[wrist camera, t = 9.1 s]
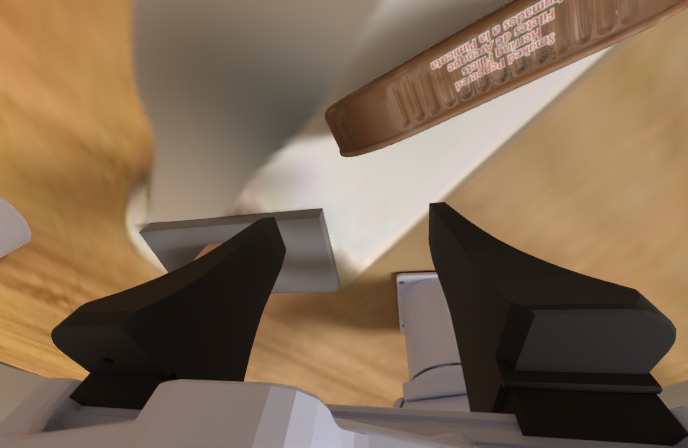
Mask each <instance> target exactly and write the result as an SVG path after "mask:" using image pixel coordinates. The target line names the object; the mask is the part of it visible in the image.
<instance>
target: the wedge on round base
mask: <svg viewBox="0 0 688 448" xmlns="http://www.w3.org/2000/svg"><path fill="white" fill-rule="evenodd" d="M30 240H31V230H30V228H29V226H28V224H27V222H26V221H25V219H24V218H23V217H22V215H21V214H20V213H19V212H18V211H17V210H16V209H15V208H14V207H13V206H12V205H11V204H10V203H9V202H7V201H6V200H5V199H4V198H2V197H1V196H0V258H1V257H3V256H5V255H7V254H9V253H11V252H12V251H14V250H16V249H18V248H20V247H22V246H24V245H25V244H27V243H29V241H30Z"/></svg>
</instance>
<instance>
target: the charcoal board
mask: <svg viewBox="0 0 688 448" xmlns="http://www.w3.org/2000/svg"><path fill="white" fill-rule="evenodd" d="M265 217H275V220H276V222H277V225H278V228H279V231H280V233H281V236H282V239H283V242H284V245H285V247H286V253H285V258H284V261H283V265H282V268H281V270H280V273H279V275H278V278H277V280H276V282H275V285H274V287H273V289H272V291H271V293H304V292H338V287H339V276H338V272H337V268H336V264H335V260H334V255H333V251H332V247H331V243H330V239H329V234H328V230H327V226H326V222H325V217H324V213H323V209H311V210H300V211H288V212H277V213H265V214H254V215H243V216H231V217H220V218H208V219H197V220H186V221H174V222H162V223H151V224H149V225H148V226H147V227H145V228H144V229H143V230H141V231H140V232H139V233H140V234H141V235H142V237H143V238H144V240H145V241H146V242H147V244H148V245H149V247H150V248H151V249H152V251H153V252H154V253H155V255H156V256H157V258H158V259H159V260H160V262H161V263H162V264H163V266H164V267H165V269H166V270H167V271H168V273H170V272H172V271H174V270H176V269H178V268H180V267H183V266H185V265H186V264H188V263H190V262H192V261H193V260H194V259H195V258H196V257H197V256H198V255H199V254H200V252H201V251H202V250H203V249H204V248H205V247H206V246H207V245H208V244H217V243H224V242H226V241H227V240H229V239H230V238H232V237H233V236H235V235H236V234H238V233H239V232H241V231H242V230H244V229H245V228H246V227H248V226H250V225H251V224H253V223H254V222H256V221H257V220H259V219H261V218H265Z"/></svg>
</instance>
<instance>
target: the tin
mask: <svg viewBox="0 0 688 448" xmlns="http://www.w3.org/2000/svg"><path fill="white" fill-rule="evenodd" d="M687 8H688V0H514V1H512V2H510V3H508V4H507V5H505V6H503V7H501V8H499V9H498V10H496V11H494V12H492V13H490V14H489V15H487V16H485V17H483V18H482V19H480V20H478V21H476V22H474V23H473V24H471V25H469V26H467V27H466V28H464V29H462V30H460V31H459V32H457V33H455V34H454V35H452V36H450V37H448V38H447V39H445V40H443V41H441V42H440V43H438V44H436V45H434V46H433V47H431V48H429V49H428V50H426V51H424V52H422V53H421V54H419V55H417V56H416V57H414V58H412V59H410V60H409V61H407V62H405V63H404V64H402V65H400V66H398V67H397V68H395V69H393V70H391V71H390V72H388V73H386V74H384V75H383V76H381V77H379V78H377V79H376V80H374V81H372V82H370V83H369V84H367V85H365V86H364V87H362V88H360V89H359V90H357V91H355V92H353V93H352V94H350V95H348V96H346V97H345V98H343V99H341V100H340V101H338V102H337V103H335V104H333V105H332V106H331V107H329V108H328V109H327V111H326V112H325V119H326V121H327V124H328V126H329V128H330V130H331V132H332V134H333V136H334V138H335V140H336V142H337V144H338V146H339V149H340V154H341V156H343V157H354V156H358V155H362V154H366V153H369V152H373V151H376V150H379V149H382V148H384V147H387V146H389V145H393V144H394V143H397V142H400V141H402V140H404V139H406V138H409V137H411V136H413V135H416V134H418V133H420V132H422V131H424V130H427V129H429V128H431V127H433V126H436V125H438V124H440V123H442V122H444V121H446V120H449V119H451V118H453V117H455V116H457V115H460V114H462V113H464V112H466V111H469V110H471V109H473V108H475V107H477V106H479V105H481V104H483V103H486V102H488V101H491V100H492V99H495V98H497V97H499V96H501V95H503V94H506V93H508V92H510V91H512V90H515V89H517V88H519V87H521V86H523V85H526V84H528V83H530V82H532V81H534V80H536V79H539V78H541V77H543V76H545V75H548V74H550V73H552V72H554V71H557V70H559V69H561V68H563V67H566V66H568V65H570V64H572V63H574V62H576V61H578V60H581V59H583V58H585V57H587V56H589V55H592V54H594V53H596V52H599V51H601V50H603V49H605V48H608V47H610V46H612V45H614V44H616V43H619V42H621V41H623V40H625V39H627V38H629V37H632V36H634V35H636V34H638V33H640V32H643V31H645V30H647V29H649V28H651V27H653V26H655V25H657V24H659V23H661V22H663V21H664V20H666V19H668V18H670V17H672V16H674V15H675V14H677V13H679V12H681V11H683V10H685V9H687Z"/></svg>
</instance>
